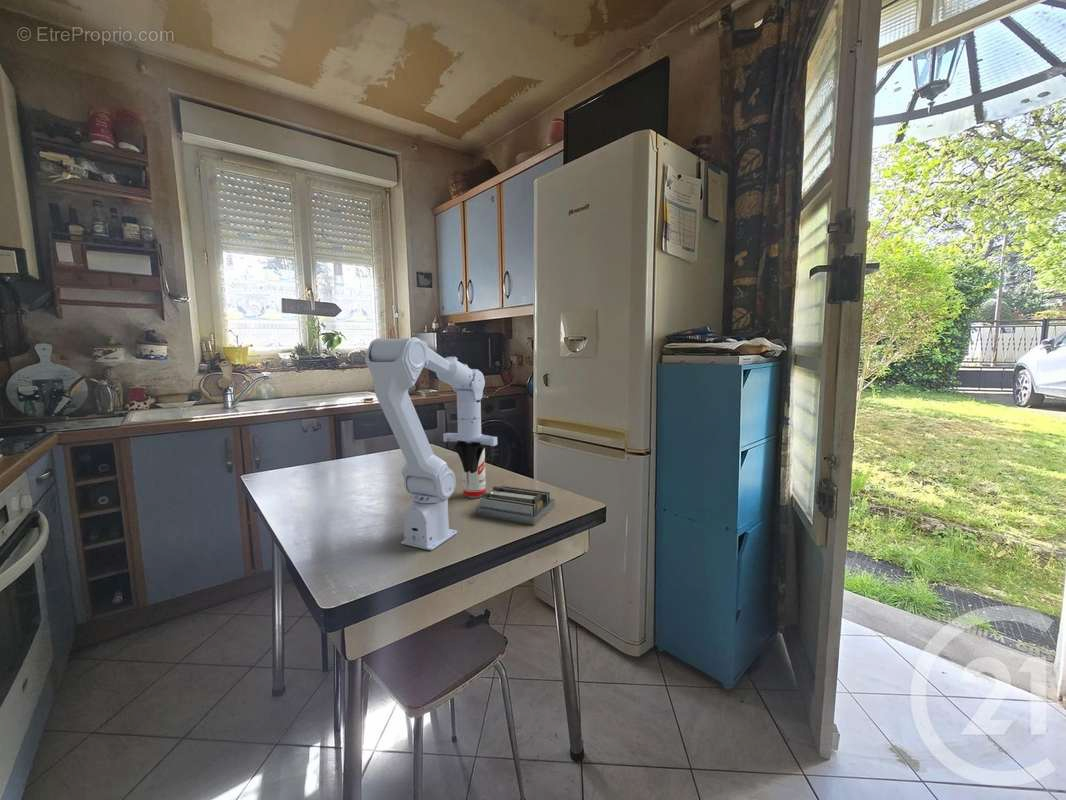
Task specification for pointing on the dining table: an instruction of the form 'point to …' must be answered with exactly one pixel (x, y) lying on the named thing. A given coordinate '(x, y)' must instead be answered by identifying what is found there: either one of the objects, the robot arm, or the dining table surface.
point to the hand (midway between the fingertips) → (470, 471)
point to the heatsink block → (516, 506)
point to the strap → (511, 496)
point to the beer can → (475, 480)
